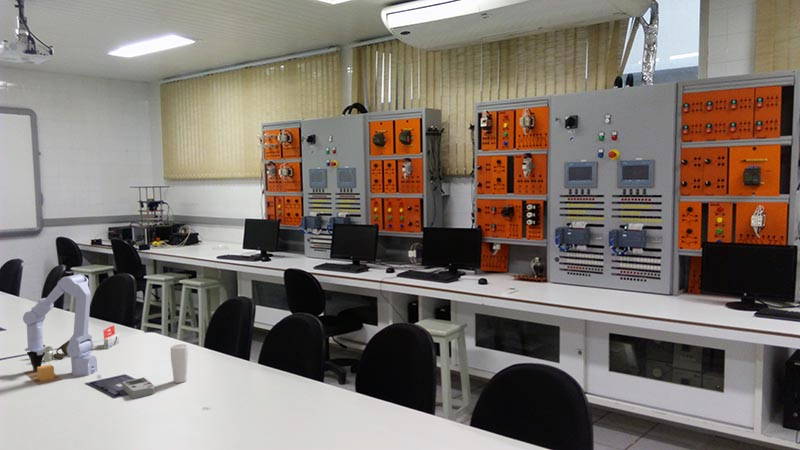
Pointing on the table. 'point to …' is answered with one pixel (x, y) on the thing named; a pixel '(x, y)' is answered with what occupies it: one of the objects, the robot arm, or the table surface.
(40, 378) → the cube
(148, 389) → the handheld gaming device
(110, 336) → the ink cartridge box
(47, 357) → the valve
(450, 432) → the table surface
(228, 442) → the table surface
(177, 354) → the drinking glass
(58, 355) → the brown rounded piece
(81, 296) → the robot arm
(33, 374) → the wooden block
